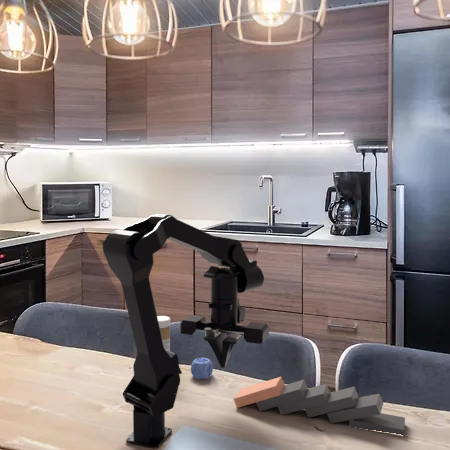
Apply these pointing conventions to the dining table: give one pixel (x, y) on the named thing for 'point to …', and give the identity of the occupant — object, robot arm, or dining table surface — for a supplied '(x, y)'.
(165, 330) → the sprinkles bottle
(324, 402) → the domino
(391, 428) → the domino
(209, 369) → the decorative dice
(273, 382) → the domino
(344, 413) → the domino
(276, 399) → the domino
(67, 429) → the dining table surface
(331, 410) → the domino
